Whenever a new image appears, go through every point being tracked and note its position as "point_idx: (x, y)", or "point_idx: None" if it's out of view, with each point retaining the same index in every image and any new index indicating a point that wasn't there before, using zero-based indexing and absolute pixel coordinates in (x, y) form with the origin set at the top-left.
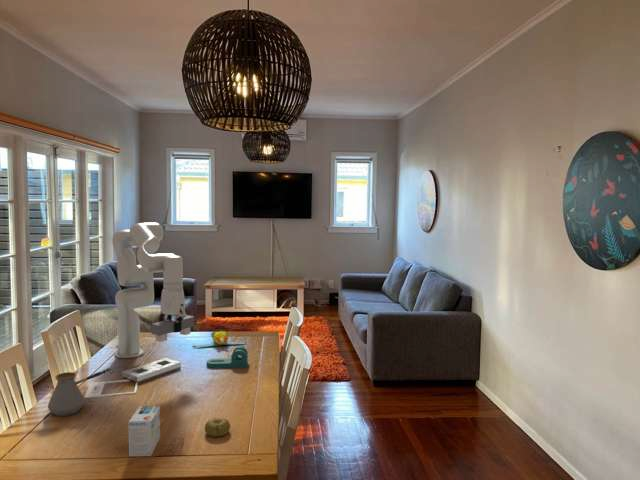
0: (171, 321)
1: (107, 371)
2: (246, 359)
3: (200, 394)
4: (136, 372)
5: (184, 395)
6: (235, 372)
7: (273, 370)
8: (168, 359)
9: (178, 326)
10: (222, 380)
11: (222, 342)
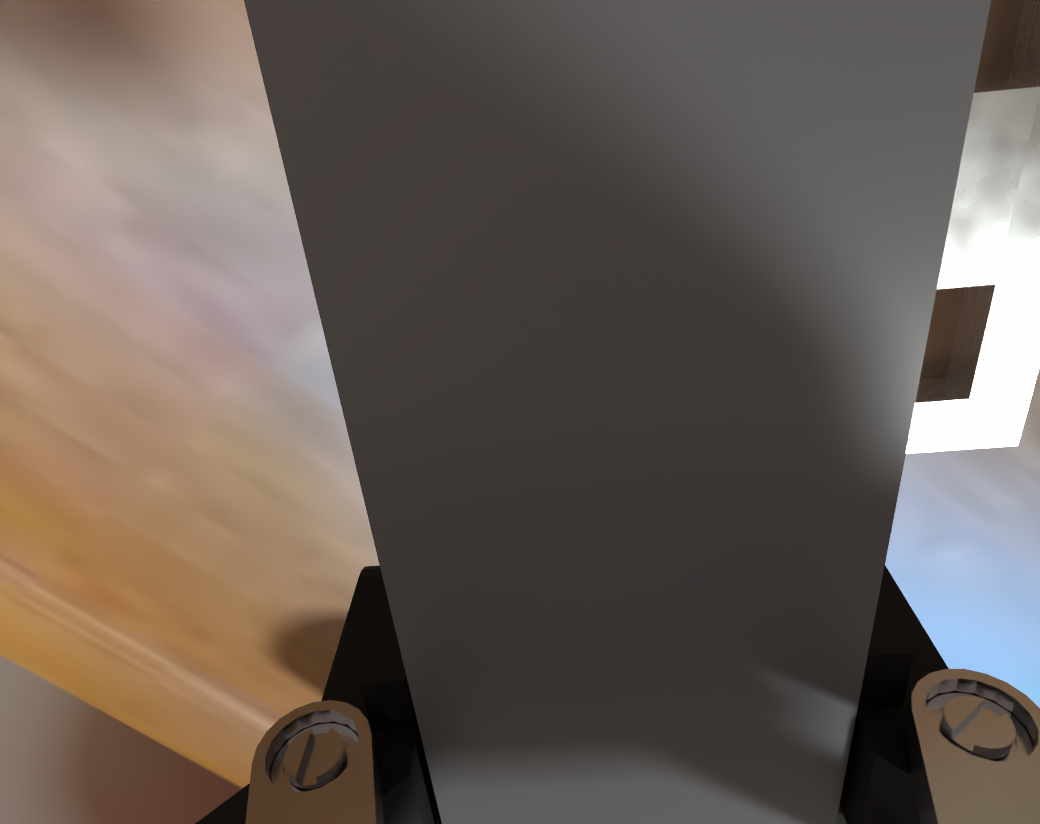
0: (530, 681)
1: None
2: None
3: (66, 164)
4: (1037, 2)
5: (131, 36)
6: (341, 620)
7: (200, 761)
8: (951, 434)
9: (349, 645)
10: (256, 475)
11: None
